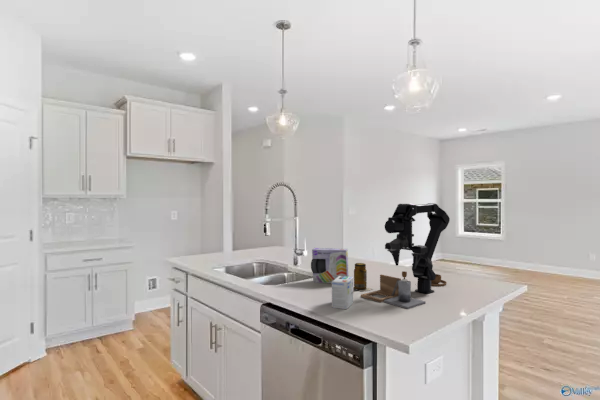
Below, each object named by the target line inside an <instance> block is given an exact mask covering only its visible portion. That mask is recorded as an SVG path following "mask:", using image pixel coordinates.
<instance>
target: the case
mask: <svg viewBox="0 0 600 400" xmlns="http://www.w3.org/2000/svg"><path fill="white" fill-rule="evenodd" d="M400 280H402V279H401V278H399V277H394V276H392V275H391V276H390V275H387V274H386V275H385V274H379V289H378V290H374V291H373V290H372V291H370V292H367V293H361V294H360V298H365V299H367V300H370V301H374V302H376V303H377V302H378V303H385V302H384V300H386V299H390V298H393V297H397V296H398V281H400ZM375 295H380V296H384V297H381V298H380V297H376V296H375Z"/></svg>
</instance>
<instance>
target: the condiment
mask: <svg viewBox="0 0 600 400" xmlns="http://www.w3.org/2000/svg"><path fill="white" fill-rule="evenodd" d="M366 266H367V265H366V263H364V262H356V263H354V270H353V290H356V291H358V292H367V291H373V288H370V287H367V284H368V283H367V277H368V276H367V273H368V272H367V268H366Z"/></svg>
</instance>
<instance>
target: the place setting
mask: <svg viewBox="0 0 600 400" xmlns="http://www.w3.org/2000/svg"><path fill="white" fill-rule="evenodd" d="M435 274H436V278H435V279H434V280H431V287H444V286H446V285H447V283H448V282H447V281H446V280H443V279H442V275H441V274H438V273H435ZM407 276H408V273H407V271H401V277H402V278H403V279H406V278H407ZM414 286H417V285H416V283H415V285H414Z"/></svg>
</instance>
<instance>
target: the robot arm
mask: <svg viewBox="0 0 600 400" xmlns="http://www.w3.org/2000/svg"><path fill="white" fill-rule="evenodd" d="M424 213H426V217H427V218H428V220H429V221H428V224H429V228H430V230H429V232H428V234H427V237H426V241H425V243H424V245H421V244H418V245H415V243H413V237H415V234H414V233H413V222H416V219H415V218H414V216H416V215H417V214H424ZM384 223H385V224H384V230H385V232H386V233H388V234H396V233H397V234H396V238H394V239H393V240H391V241H389V242H386V243H385V244H384V249H385V250H387V252H389V253H390V254H391V255H392V258H393V261H394V263H395V266H399V262H400V254H401V253H400V252H401V250H405V251H406V250H407V251H411V252H412V253H411V256H412V264H411V271H412V275H413V278H415V279H417V285H416V286H417V288H416V289H414V292H417V293H422V294H427V295H428V294H431V293H435V290H433V289H432V286H431V280H434V279H435V278H436V274H437V273H435V271H434V270H433V268H434V266H433V262H432V261H433V260H432V258H433V257H434V256H433V255H434V253H435V251H436V248H437V244H438V242H439V240H440V239H439V238H440V236H441V233H442V232H443V231H445V230H446V229H447V227H448V225H449V223H450V216H449V215H448V214H447V211H445V210H443V209H442V208H441V207H440V206H439V205H438V204H437V203H435V202H434V203H433V202H432V203H431V202H430V203H426V204H414V203H398V204H397V207H396V208H395V210H394V212H393V214H392V217H389V216H388V218H387V220H386V221H385V222H384Z"/></svg>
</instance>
